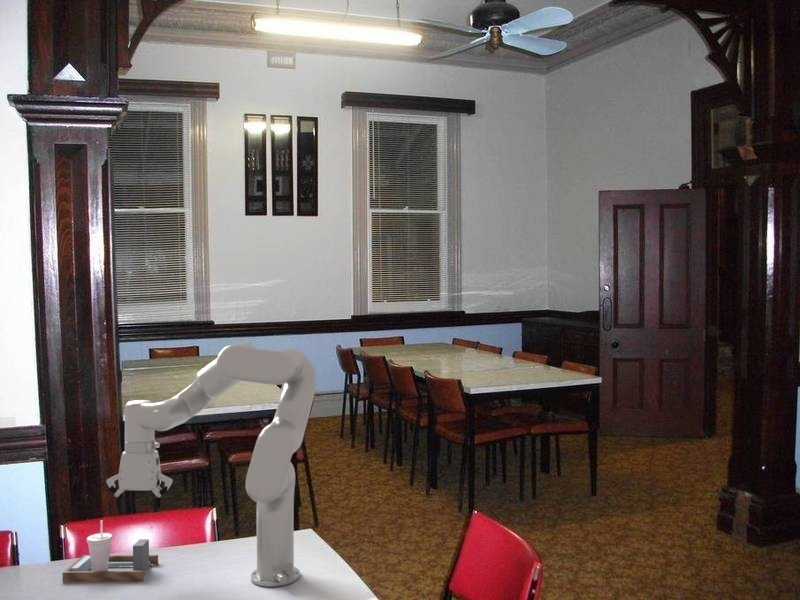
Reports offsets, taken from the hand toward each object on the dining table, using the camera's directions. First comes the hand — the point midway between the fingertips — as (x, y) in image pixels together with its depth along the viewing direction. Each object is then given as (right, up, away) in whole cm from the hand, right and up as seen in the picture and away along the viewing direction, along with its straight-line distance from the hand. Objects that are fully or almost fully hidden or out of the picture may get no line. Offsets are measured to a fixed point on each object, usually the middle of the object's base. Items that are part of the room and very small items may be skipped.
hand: (139, 510), depth 193 cm
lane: (-7, -16, 0) cm, 18 cm away
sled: (-7, -16, 0) cm, 18 cm away
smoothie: (-10, -17, 0) cm, 20 cm away
